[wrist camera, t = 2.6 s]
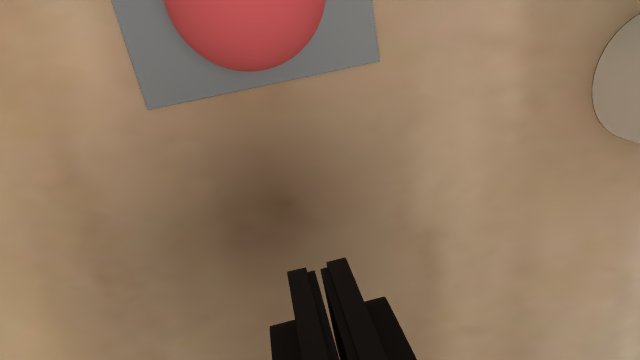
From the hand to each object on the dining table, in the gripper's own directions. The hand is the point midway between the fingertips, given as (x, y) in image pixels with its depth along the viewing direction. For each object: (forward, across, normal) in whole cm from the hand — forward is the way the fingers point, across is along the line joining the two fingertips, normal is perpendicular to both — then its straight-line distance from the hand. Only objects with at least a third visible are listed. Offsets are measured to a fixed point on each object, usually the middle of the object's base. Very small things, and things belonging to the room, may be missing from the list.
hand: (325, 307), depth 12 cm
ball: (+8, 0, -9) cm, 12 cm away
